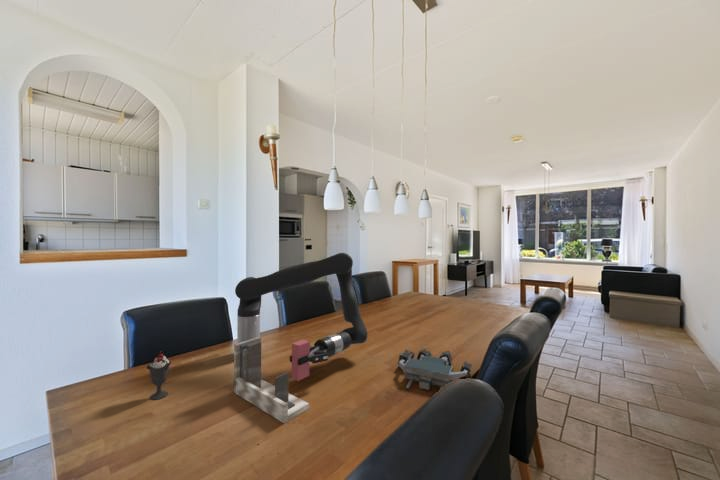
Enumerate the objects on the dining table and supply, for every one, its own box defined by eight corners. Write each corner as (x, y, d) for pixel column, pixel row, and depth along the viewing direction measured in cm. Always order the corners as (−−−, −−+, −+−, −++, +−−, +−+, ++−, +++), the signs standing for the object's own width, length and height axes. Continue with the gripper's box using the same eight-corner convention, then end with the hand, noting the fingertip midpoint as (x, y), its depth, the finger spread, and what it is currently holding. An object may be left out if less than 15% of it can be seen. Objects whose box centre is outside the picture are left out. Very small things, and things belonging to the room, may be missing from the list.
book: (291, 377, 103) (291, 343, 102) (302, 372, 107) (303, 339, 107) (298, 380, 101) (298, 345, 100) (309, 375, 105) (310, 341, 104)
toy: (473, 355, 122) (471, 376, 94) (471, 376, 121) (469, 404, 93) (407, 342, 132) (388, 358, 104) (405, 362, 131) (386, 384, 103)
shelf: (233, 392, 98) (234, 342, 98) (258, 381, 105) (258, 335, 105) (284, 423, 82) (284, 364, 82) (308, 408, 90) (309, 354, 89)
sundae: (159, 402, 92) (159, 354, 91) (141, 399, 93) (141, 352, 93) (176, 391, 98) (176, 346, 98) (159, 389, 99) (159, 344, 99)
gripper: (316, 332, 119) (281, 345, 105) (343, 340, 110) (308, 355, 97) (316, 351, 119) (280, 366, 105) (342, 360, 111) (308, 378, 97)
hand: (294, 360), depth 101 cm, fingers closed on book, 3 cm apart
